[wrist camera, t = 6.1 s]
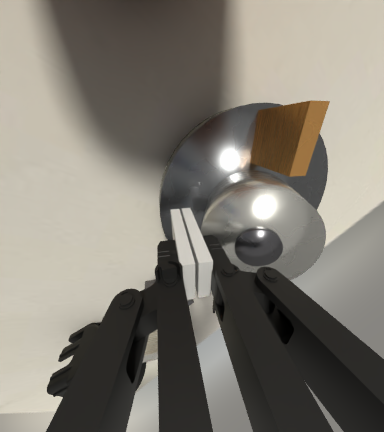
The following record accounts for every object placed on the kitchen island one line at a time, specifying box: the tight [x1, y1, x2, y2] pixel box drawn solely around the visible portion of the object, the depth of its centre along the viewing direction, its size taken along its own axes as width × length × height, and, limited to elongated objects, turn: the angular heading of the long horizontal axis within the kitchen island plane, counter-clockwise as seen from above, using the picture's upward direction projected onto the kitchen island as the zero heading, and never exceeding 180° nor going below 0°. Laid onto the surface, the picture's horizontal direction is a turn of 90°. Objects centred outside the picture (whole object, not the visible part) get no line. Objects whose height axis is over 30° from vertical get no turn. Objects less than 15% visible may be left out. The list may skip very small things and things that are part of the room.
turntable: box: [159, 101, 330, 240], centre depth 16 cm, size 18×18×7 cm
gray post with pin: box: [142, 280, 194, 363], centre depth 19 cm, size 6×5×9 cm
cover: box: [200, 170, 326, 280], centre depth 13 cm, size 8×8×5 cm
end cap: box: [47, 323, 146, 397], centre depth 23 cm, size 10×7×7 cm
